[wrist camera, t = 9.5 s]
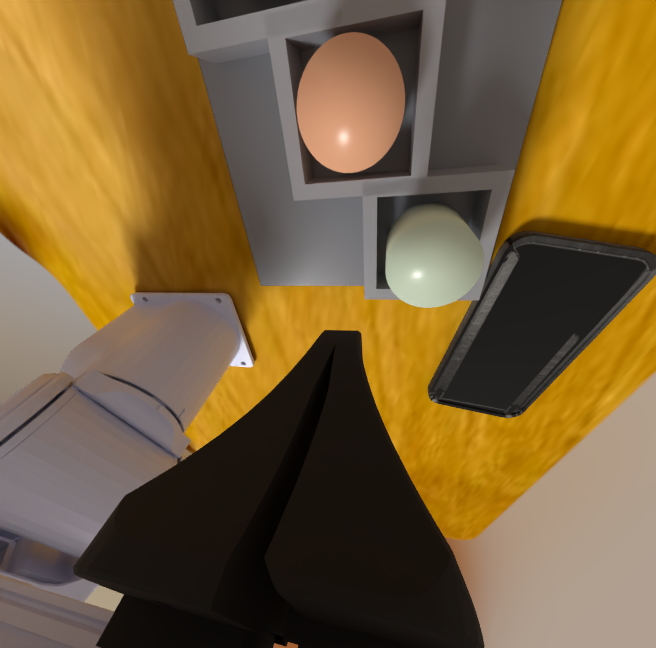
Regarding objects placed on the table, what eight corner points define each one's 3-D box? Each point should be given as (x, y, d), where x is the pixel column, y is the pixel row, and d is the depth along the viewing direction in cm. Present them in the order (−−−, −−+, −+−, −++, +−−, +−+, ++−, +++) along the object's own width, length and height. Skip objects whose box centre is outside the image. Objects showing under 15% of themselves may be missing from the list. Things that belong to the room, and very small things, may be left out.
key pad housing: (263, 282, 20) (249, 300, 18) (136, -192, 9) (63, -281, 7) (481, 281, 17) (493, 303, 15) (673, -436, 6) (816, -719, 4)
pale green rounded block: (385, 276, 16) (384, 306, 13) (387, 204, 13) (386, 224, 11) (458, 276, 15) (472, 308, 12) (474, 199, 12) (495, 218, 10)
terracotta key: (320, 167, 14) (305, 176, 11) (310, 62, 12) (287, 44, 9) (399, 159, 13) (401, 168, 11) (405, 45, 11) (409, 20, 8)
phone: (424, 400, 23) (515, 232, 14) (423, 390, 24) (508, 225, 15) (517, 420, 23) (676, 257, 13) (512, 409, 24) (658, 249, 14)
